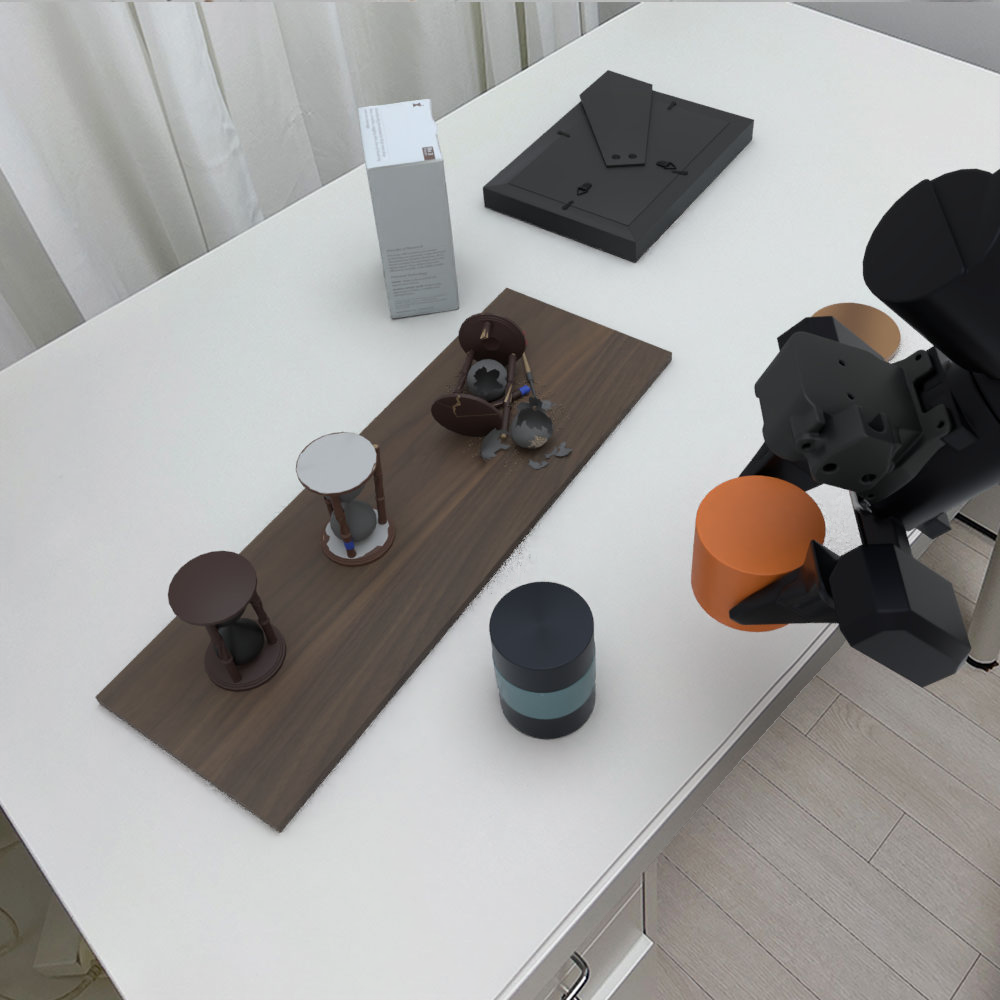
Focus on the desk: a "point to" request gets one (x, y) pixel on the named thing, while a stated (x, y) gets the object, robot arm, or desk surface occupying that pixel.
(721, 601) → the cap
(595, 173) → the picture frame
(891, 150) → the desk surface
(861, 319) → the coaster
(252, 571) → the hourglass set
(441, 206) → the cosmetic box
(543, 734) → the navy teal banded cylinder
